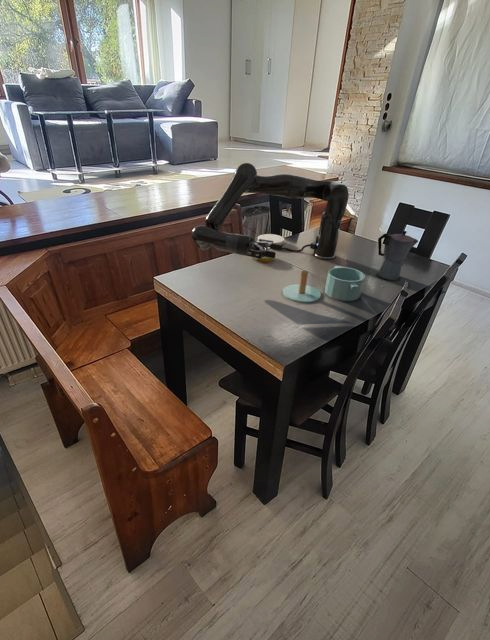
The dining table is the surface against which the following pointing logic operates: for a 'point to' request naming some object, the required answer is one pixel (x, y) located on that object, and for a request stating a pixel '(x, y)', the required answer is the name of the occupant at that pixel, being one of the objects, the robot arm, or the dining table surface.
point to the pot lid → (302, 291)
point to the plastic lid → (272, 238)
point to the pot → (344, 283)
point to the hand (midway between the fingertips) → (278, 251)
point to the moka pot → (395, 254)
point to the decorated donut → (264, 259)
